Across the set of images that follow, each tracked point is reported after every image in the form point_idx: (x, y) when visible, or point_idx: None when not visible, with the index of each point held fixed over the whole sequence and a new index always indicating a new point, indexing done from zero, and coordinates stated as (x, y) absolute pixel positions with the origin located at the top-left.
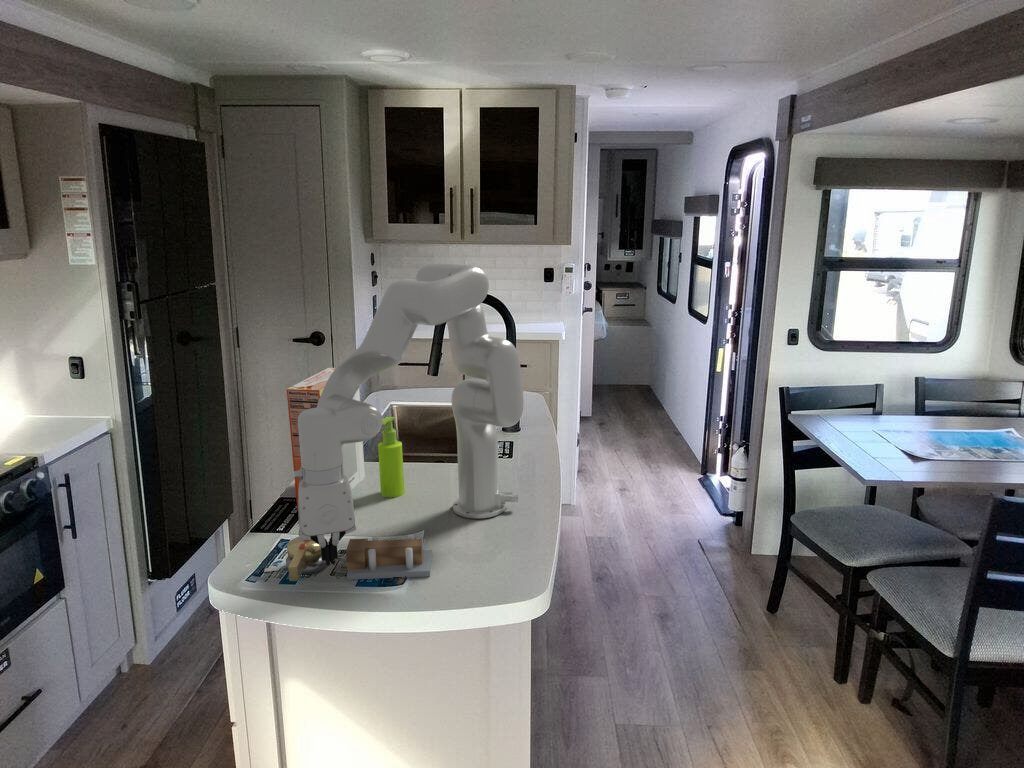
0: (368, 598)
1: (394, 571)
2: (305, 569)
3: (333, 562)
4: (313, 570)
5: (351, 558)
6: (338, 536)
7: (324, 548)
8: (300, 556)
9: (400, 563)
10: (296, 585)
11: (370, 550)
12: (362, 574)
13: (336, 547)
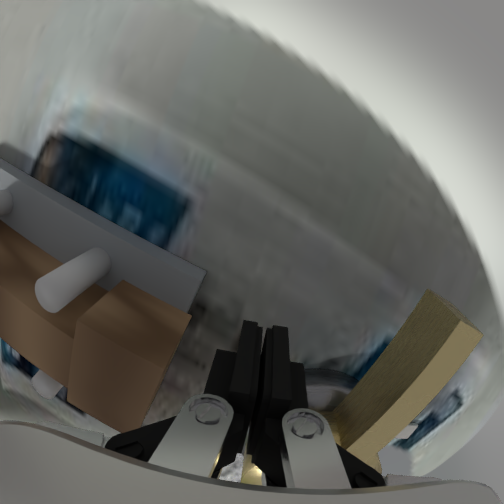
0: (176, 80)
1: (41, 199)
2: (340, 387)
3: (250, 326)
4: (310, 378)
5: (153, 331)
6: (169, 440)
7: (288, 408)
8: (392, 412)
9: (18, 237)
10: (388, 327)
11: (52, 299)
12: (142, 247)
13: (209, 390)
